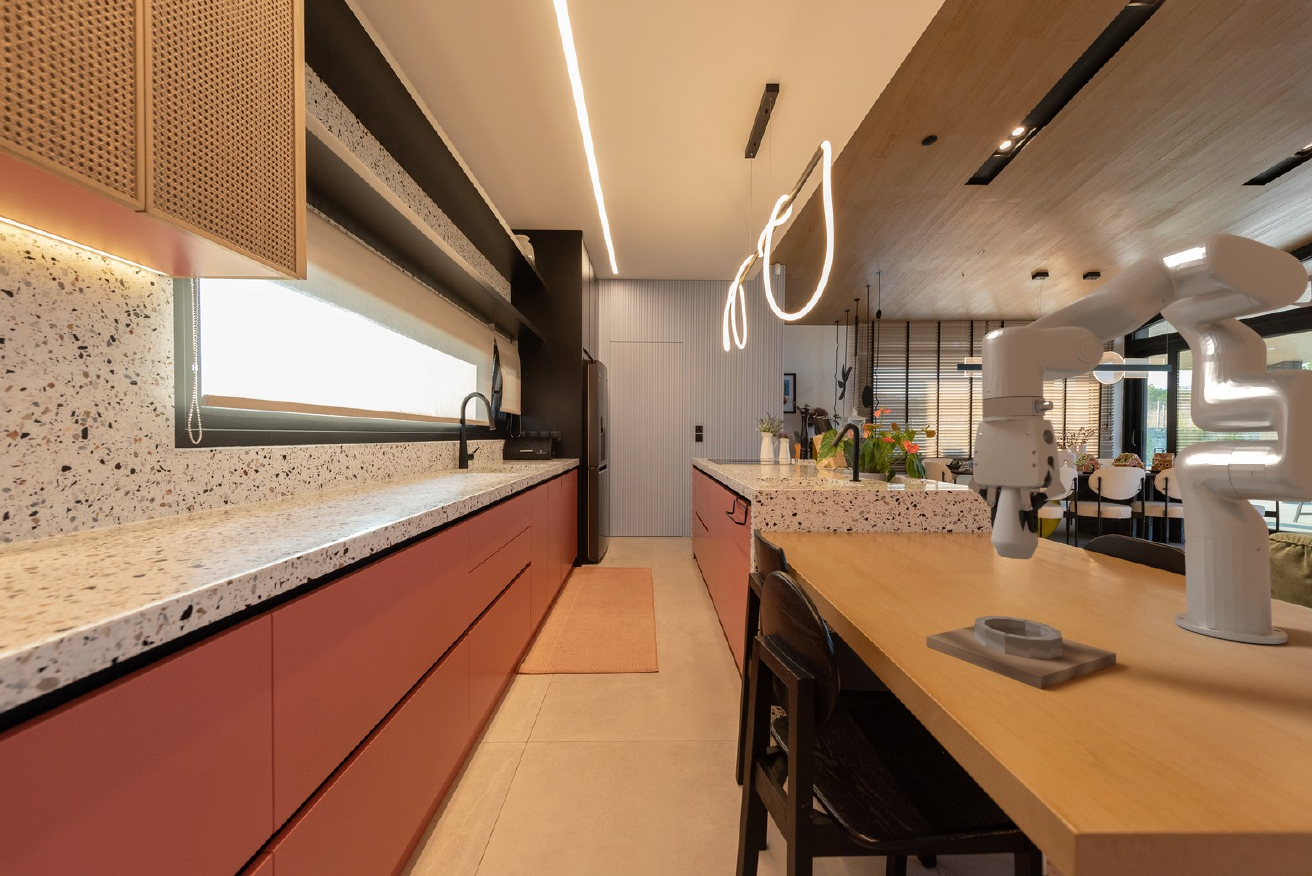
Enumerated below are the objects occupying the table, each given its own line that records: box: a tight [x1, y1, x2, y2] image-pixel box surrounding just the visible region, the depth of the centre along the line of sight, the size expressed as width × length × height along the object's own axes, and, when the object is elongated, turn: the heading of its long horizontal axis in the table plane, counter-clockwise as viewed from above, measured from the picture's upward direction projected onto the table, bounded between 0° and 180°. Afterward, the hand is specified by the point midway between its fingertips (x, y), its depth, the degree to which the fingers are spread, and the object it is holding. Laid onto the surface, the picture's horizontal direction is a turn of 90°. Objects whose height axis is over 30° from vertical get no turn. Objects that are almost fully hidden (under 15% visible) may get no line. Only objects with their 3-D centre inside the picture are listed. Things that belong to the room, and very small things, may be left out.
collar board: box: [926, 615, 1117, 690], centre depth 76 cm, size 18×16×4 cm
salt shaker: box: [990, 480, 1039, 560], centre depth 77 cm, size 6×6×13 cm
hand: (1014, 534), depth 77 cm, fingers closed on salt shaker, 3 cm apart
